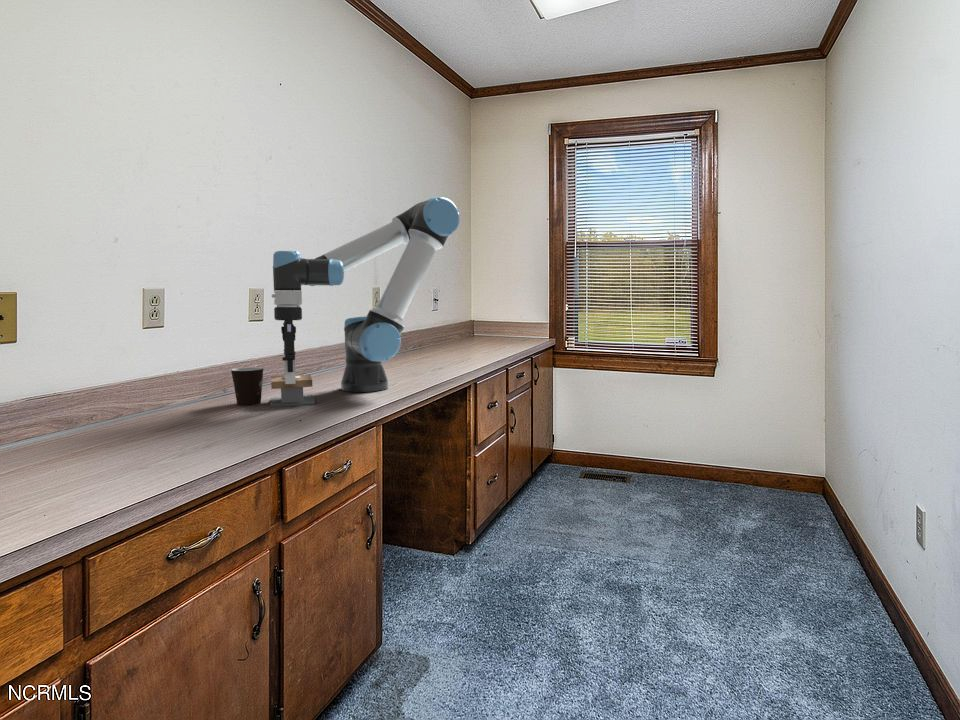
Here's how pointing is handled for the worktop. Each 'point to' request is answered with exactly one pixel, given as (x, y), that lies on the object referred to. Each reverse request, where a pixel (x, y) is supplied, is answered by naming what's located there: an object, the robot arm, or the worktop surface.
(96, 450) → the worktop surface
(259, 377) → the coffee mug
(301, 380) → the lid
